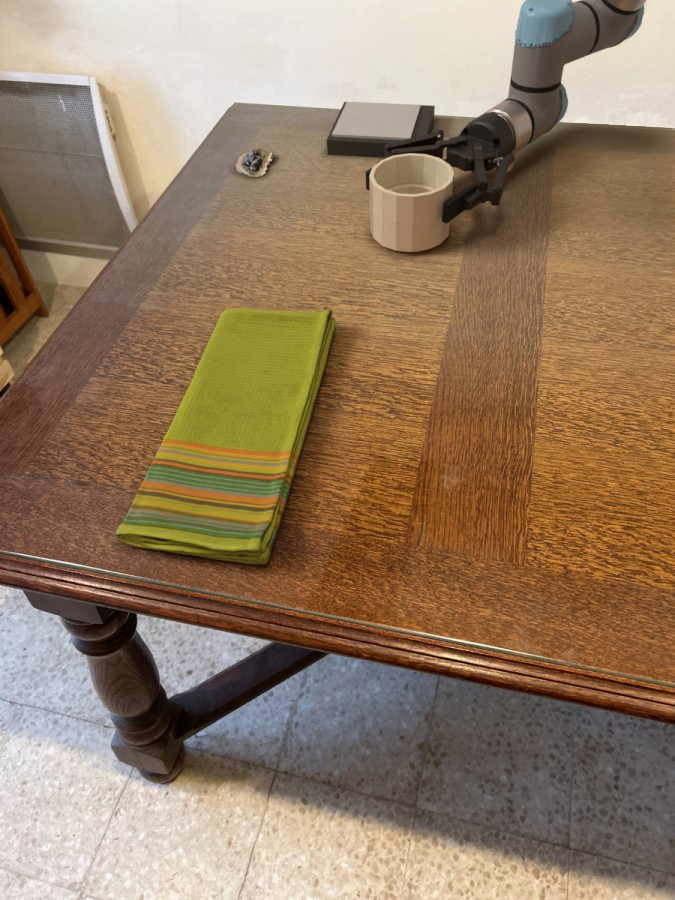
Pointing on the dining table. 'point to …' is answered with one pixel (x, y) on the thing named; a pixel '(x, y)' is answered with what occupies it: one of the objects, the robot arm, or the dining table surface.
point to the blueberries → (254, 162)
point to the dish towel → (234, 439)
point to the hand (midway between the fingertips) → (404, 197)
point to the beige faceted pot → (410, 201)
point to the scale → (377, 127)
